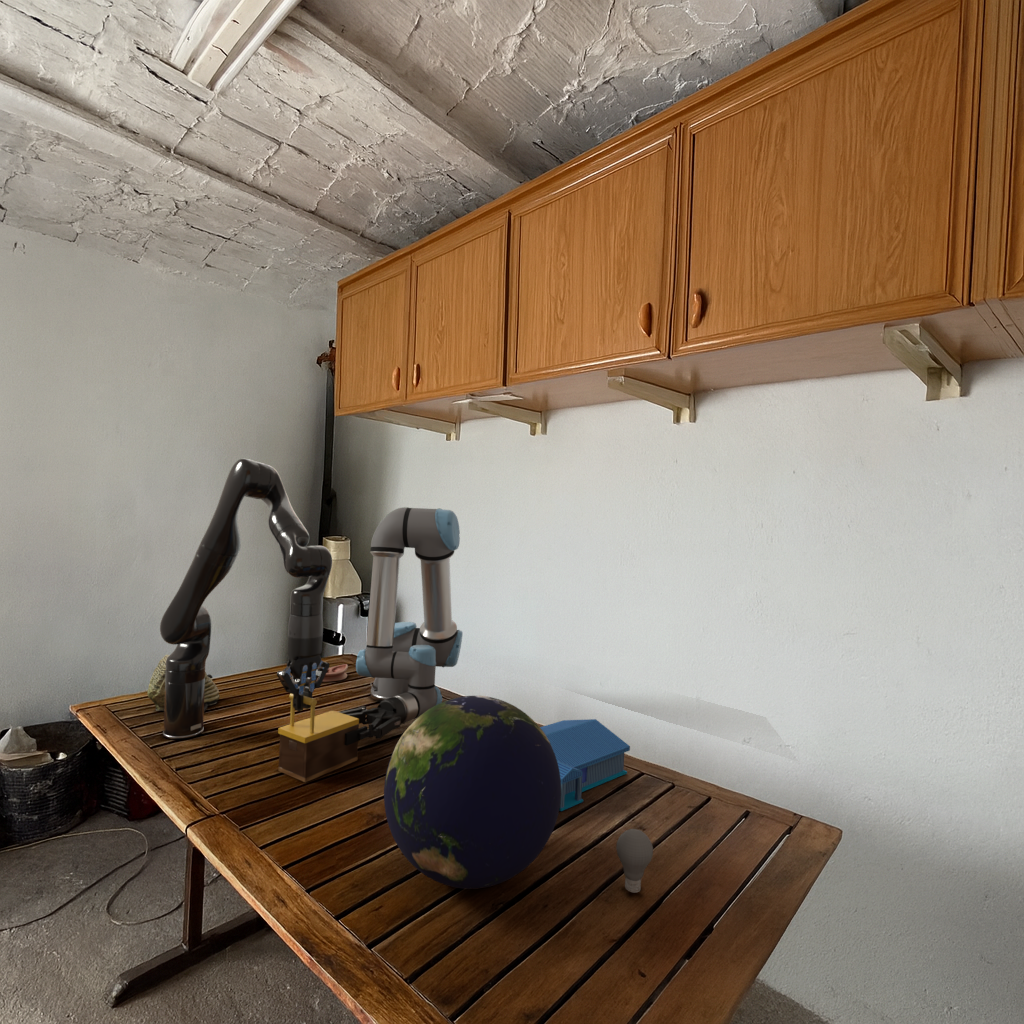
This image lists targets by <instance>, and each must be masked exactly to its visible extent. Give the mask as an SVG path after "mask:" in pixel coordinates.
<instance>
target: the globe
mask: <svg viewBox="0 0 1024 1024" xmlns="http://www.w3.org/2000/svg"><path fill="white" fill-rule="evenodd" d="M540 727H541V726H540V725H538V723H537V722H536V721H535V720H534V719H533V718H532V717H531V716H529V715H528V714H527V713H526V712H524V711H523V710H521V709H520V708H519V707H517V706H516V705H513V704H512V703H510V702H508V701H505V700H503V699H499V698H496V697H491V696H488V695H479V694H478V695H464V696H459V697H454V698H451V699H447V700H444V701H442V703H440V704H438V705H436V706H434V707H432V708H430V709H429V710H427V711H426V712H425V713H423V714H422V715H421V716H419V717H418V718H416V719H414V720H413V722H411V724H410V725H409V726H408V727H407V729H405V731H404V732H403V734H401V736H400V738H399V740H398V741H397V743H396V744H395V747H394V749H393V751H392V754H391V755H390V758H389V762H388V766H387V769H386V773H385V777H384V778H385V779H384V787H383V804H384V811H385V817H386V821H387V825H388V828H389V830H390V833H391V836H392V838H393V840H394V842H395V844H396V845H397V847H398V849H399V850H400V852H401V854H402V855H403V856H404V857H405V858H406V860H407V861H408V863H410V864H411V865H412V866H413V867H414V868H415V869H416V870H418V872H420V873H422V874H423V875H424V876H426V877H427V878H429V879H431V880H433V881H434V882H437V883H439V884H442V885H444V886H447V887H450V888H451V887H452V888H456V889H462V890H463V889H464V890H476V889H485V888H489V887H494V886H497V885H500V884H503V883H504V882H506V881H508V880H511V879H512V878H514V877H515V876H517V875H518V874H520V873H522V872H523V871H524V870H526V868H528V867H529V866H530V865H531V864H532V863H533V862H534V861H535V860H536V859H537V858H538V856H539V855H540V854H541V852H542V851H543V850H544V849H545V847H546V845H547V843H548V841H549V840H550V839H551V836H552V835H553V834H552V833H553V832H554V829H555V826H556V825H557V821H558V816H559V812H560V811H559V808H560V801H561V779H560V771H559V767H558V763H557V760H556V756H555V753H554V751H553V749H552V746H551V744H550V742H549V740H548V738H547V737H546V735H545V733H544V732H543V730H542V729H541V728H540Z"/></svg>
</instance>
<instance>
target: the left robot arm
mask: <svg viewBox="0 0 1024 1024" xmlns="http://www.w3.org/2000/svg"><path fill="white" fill-rule="evenodd" d="M245 497H246V498H250V499H255V500H261V501H262V502H264V504H265V505H267V507H268V508H269V513H268V518H267V525H268V528H269V531H270V533H271V535H272V536H273V538H274V540H275V541H276V543H277V544H278V546H279V550H280V554H281V559H282V566H283V569H284V571H285V572H286V573H287V574H288V575H289V576H290V577H293V578H297V579H298V578H307V581H306V583H305V584H304V585H301V586H298V587H296V588H294V589H293V590H291V592H290V604H289V605H290V606H289V619H288V624H287V625H288V627H287V647H286V649H287V650H286V653H287V656H288V659H287V663H286V667H285V668H284V669H283V670H278V671H277V672H276V676H277V678H278V680H279V682H280V683H281V685H282V687H283V689H284V691H285V692H286V693H288V694H290V693H291V694H293V708H294V709H295V711H297V712H302V711H303V710H304V709H306V710H309V709H311V705H308V704H305V703H303V699H304V696H306V697H310V698H313V693H314V691H315V689H318V688H320V687H321V685H322V684H323V682H322V681H323V679H324V677H325V675H326V673H327V670H328V668H330V663H329V662H326V661H323V660H322V657H321V654H322V653H323V635H324V633H323V632H324V621H323V620H324V619H323V618H324V617H323V607H324V606H323V605H324V604H323V603H324V594H325V591H326V588H327V584H328V581H329V578H330V575H331V572H332V568H333V556H332V554H331V551H330V550H329V549H328V547H326V546H324V545H308V544H309V542H310V534H309V531H308V530H307V529H306V527H305V526H304V524H303V522H302V521H301V520H300V518H299V517H298V515H297V514H296V512H295V510H294V508H293V506H292V504H291V501H290V498H289V496H288V493H287V491H286V488H285V486H284V484H283V481H282V478H281V475H280V474H279V472H278V471H277V469H275V467H274V466H271V465H269V464H266V463H263V462H260V461H256V460H253V459H249V458H244V457H243V458H240V459H238V460H236V461H235V462H234V464H233V465H232V466H231V467H230V470H229V472H228V475H227V477H226V479H225V483H224V485H223V488H222V491H221V494H220V497H219V500H218V503H217V504H216V508H215V510H214V513H213V515H212V517H211V519H210V522H209V524H208V526H207V529H206V531H205V532H204V534H203V536H202V538H201V540H200V543H199V545H198V547H197V549H196V552H195V553H194V556H193V559H192V561H191V563H190V565H189V567H188V569H187V571H186V574H185V575H184V577H183V580H182V582H181V584H180V586H179V589H178V590H177V592H176V593H175V595H174V597H173V599H172V600H171V601H170V603H169V604H168V607H167V608H166V610H165V612H164V613H163V615H162V617H161V620H160V623H159V632H160V636H161V638H162V641H164V642H165V643H167V644H169V645H173V646H174V645H176V647H175V649H173V651H172V652H171V653H170V654H168V655H169V656H168V658H167V660H166V674H165V705H164V710H163V731H162V737H164V738H166V739H169V740H185V739H190V738H191V739H192V738H194V737H197V736H199V735H202V734H203V732H204V730H205V729H204V722H205V721H204V718H205V712H206V711H207V709H208V707H209V705H207V703H206V704H204V693H205V672H206V664H207V663H206V662H207V658H208V656H209V654H210V649H211V639H212V617H211V614H210V612H209V610H208V609H207V608H206V607H205V606H203V604H204V602H205V601H206V600H207V597H209V595H210V594H211V593H212V592H213V591H214V590H215V589H216V588H217V586H219V584H220V583H221V582H222V581H223V580H224V579H225V578H226V576H227V575H228V574H229V572H230V571H231V569H232V568H233V566H234V564H235V561H236V559H237V557H238V556H239V554H240V551H241V548H242V547H241V546H242V539H241V534H240V528H239V522H238V513H239V511H240V507H241V505H242V502H243V500H244V498H245ZM207 676H208V677H209V678H211V679H213V678H214V677H213V675H212V674H207ZM318 677H319V678H318ZM317 678H318V680H317ZM316 680H317V681H316Z"/></svg>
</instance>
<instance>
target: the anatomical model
mask: <svg viewBox="0 0 1024 1024" xmlns="http://www.w3.org/2000/svg"><path fill="white" fill-rule="evenodd" d="M348 669H349V665H348V664H346V663H343V664H340V665H336V666H332V667H329V668H328V670H327V673H326V675H325V677H324V679H323V681H322V683H323V682H324V683H325V682H327V683H328V682H336V681H343V680H345V679H347V677H348V673H347V670H348ZM318 678H319V677H318ZM318 678H317V680H318ZM317 680H316V682H317Z"/></svg>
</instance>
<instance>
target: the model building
mask: <svg viewBox="0 0 1024 1024" xmlns="http://www.w3.org/2000/svg"><path fill="white" fill-rule="evenodd" d="M539 727H540V728H541V729H542V730H543V732H544V733H545V735H546V737H547V738H548V740H549V742H550V744H551V746H552V749H553V751H554V753H555V756H556V760H557V763H558V767H559V771H560V779H561V801H560V808H559V812H563V811H565V810H568V809H570V808H572V807H575V806H577V805H579V804H582V803H584V799H583V798H582V795H583V792H586V791H589V790H591V789H593V788H596V787H598V786H600V785H603V784H605V783H607V782H608V783H609V782H610V781H612V780H615V779H617V778H619V777H621V776H625V775H627V774H628V771H627V770H625V769H624V766H625V753H628V752H629V751H631V746H630V745H629V744H628V743H627V742H625V741H624V740H623V739H621V737H619V736H617V734H615V733H614V732H613V731H611V730H610V729H609V728H608V727H606V726H605V725H604V724H602V723H601V722H600V721H599V720H597V719H596V718H594V719H593V718H592V719H591V718H590V719H564V720H560V721H557V722H552V723H550V724H546V725H542V726H539Z"/></svg>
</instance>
